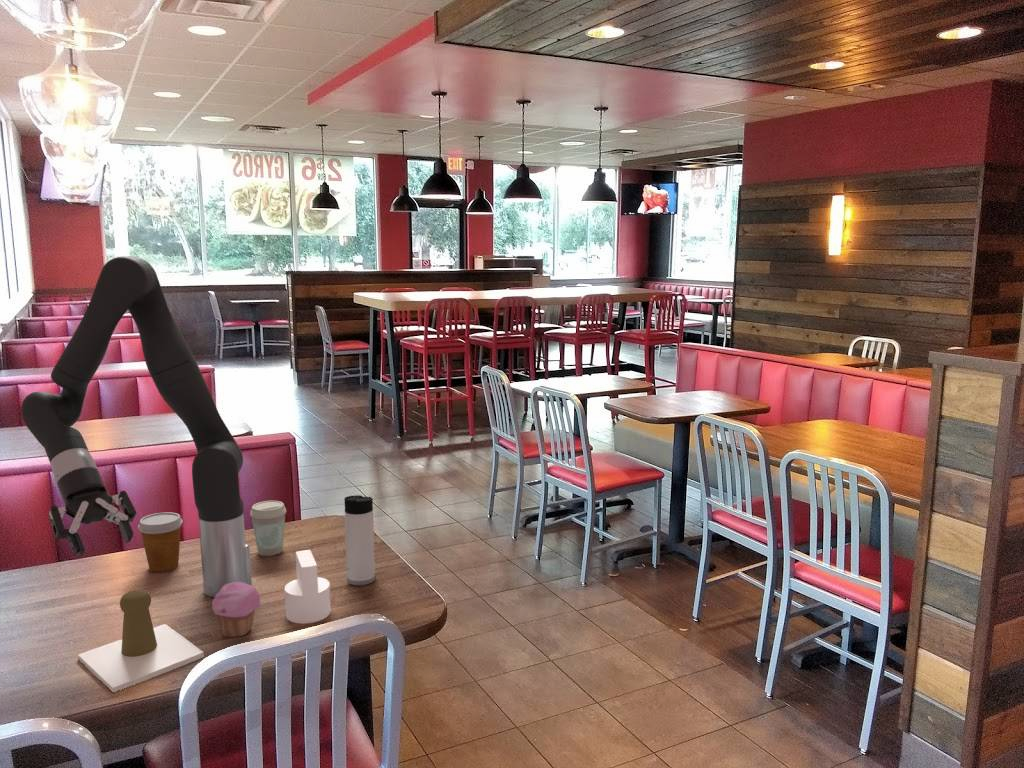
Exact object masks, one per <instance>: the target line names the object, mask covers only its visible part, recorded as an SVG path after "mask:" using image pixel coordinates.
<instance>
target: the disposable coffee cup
mask: <svg viewBox="0 0 1024 768" xmlns="http://www.w3.org/2000/svg"><path fill="white" fill-rule="evenodd" d="M183 521H184V520H183V518H181V515H180V514H179V513H176V512H170V511H169V512H167V511H165V512H158V513H157V512H155V513H152V514H147V515H145V516H143V517H142V518H141V519H140V520H139V524H138V526H137V529H139V531H140V534H141V537H142V543H143V548H144V552H145V556H146V561H147V564H148V565H147V566H148V569H149V571H151V572H154V573H164V572H169V571H172V570H174V569H176V568H178V567H179V560H180V559H179V558H180V544H181V543H180V542H181V528H182V524H183Z"/></svg>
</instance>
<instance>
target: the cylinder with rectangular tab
mask: <svg viewBox="0 0 1024 768" xmlns="http://www.w3.org/2000/svg"><path fill="white" fill-rule="evenodd" d="M295 567H296V569H295V570H296V579H293V580H291V581H290V582H287V584H285V586H284V602H285V618H286V619H287V620H288V621H289V622H291V623H295V624H312V623H315V622H320V621H322V620H324V619H326V618H327V617H328V616H330V615H331V606H332V605H331V584H330V581H329V580H328V579H326V578H324V577H320V576H318V565H317V562H316V559H315V557H314V555H313V552H312V551H311V549H305V550H297V551H296V552H295Z"/></svg>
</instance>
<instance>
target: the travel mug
mask: <svg viewBox="0 0 1024 768" xmlns="http://www.w3.org/2000/svg"><path fill="white" fill-rule="evenodd" d="M343 500H344V531H345V533H344V535H345V536H344V537H345V558H346V559H345V560H346V581H347V583H348V584H349V585H353V586H367V585H369V583H370V584H371V583H373V582H374V581H375V580H376V569H375V568H376V565H375V530H374V524H375V523H374V507H373V504H374V503H373V497H372V496H363V495H348V496H346V497H344V499H343ZM366 584H367V585H366Z"/></svg>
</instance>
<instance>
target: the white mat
mask: <svg viewBox="0 0 1024 768" xmlns="http://www.w3.org/2000/svg"><path fill="white" fill-rule="evenodd" d="M153 629H154V633H155V637H156V642H157V647H156V648H155V649H154V650H153V651H152V652H150V653H147V654H145V655H141V656H135V657H129V656H125V655H123V654H122V652H121V649H122V638H121V639H117V640H115V641H113V642H112V641H111V642H110V643H108V644H104V645H102V646H99V647H95V648H93V649H89V650H87V651H83V652H82V653H78V654H77V658H78V661H79V660H80V661H79V662H80V663H81V664H82V663H83V664H84V665H85V668H86V669H88V670H89V671H90V672H91V673H92V675H94V676H95V677H96V678H97V680H99V681H100V680H101V681H102V682H103V683H104V684H105V685H106V686H107V687H108V688H109V689H110V690H111V691H112V692H115V693H117V692H116V691H118V690H120V691H122V689H123V690H125V689H127V687H128V688H130V687H133V686H135V685H137V683H138V684H140V683H143V682H145V681H148V680H150V679H153V678H155V677H158V676H160V675H163V674H166V673H168V672H171V671H173V670H175V669H178V668H180V667H183V666H185V665H188V664H190V663H193V662H195V661H198V660H201V659H203V658H205V655H204V651H203V650H202V649H200V648H198V646H196V645H195V644H193V643H192V642H191V641H190V640H188V639H187V638H185V637H184V636H183V635H181V634H180V633H179V632H177V631H176V630H174V629H172V628H171V626H169V625H168V624H166V623H164V624H161V625H158V626H155V627H153ZM83 664H82V665H83ZM84 665H83V666H84ZM152 677H153V678H152ZM101 681H100V682H101ZM102 682H101V683H102ZM103 683H102V684H103ZM104 684H103V685H104ZM105 685H104V686H105ZM132 685H133V686H132ZM106 686H105V687H106ZM129 686H130V687H129ZM107 687H106V688H107ZM108 688H107V689H108ZM124 688H125V689H124ZM109 689H108V690H109ZM111 691H110V692H111ZM118 692H119V691H118Z"/></svg>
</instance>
